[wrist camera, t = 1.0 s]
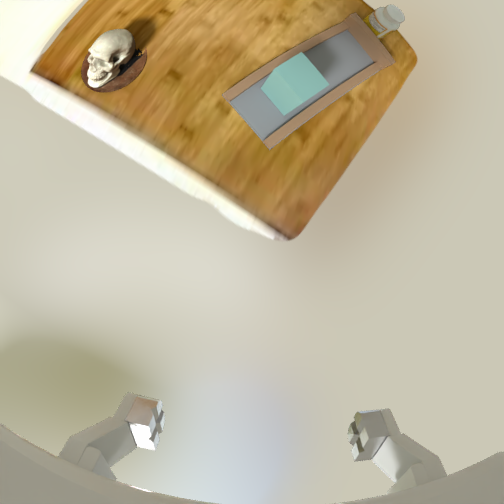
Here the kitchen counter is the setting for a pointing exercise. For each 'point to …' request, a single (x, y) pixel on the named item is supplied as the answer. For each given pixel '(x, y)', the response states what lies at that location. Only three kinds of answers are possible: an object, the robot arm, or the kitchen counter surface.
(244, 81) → the chute
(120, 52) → the skull
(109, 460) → the robot arm
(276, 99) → the block
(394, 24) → the supplement bottle
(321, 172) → the kitchen counter surface
